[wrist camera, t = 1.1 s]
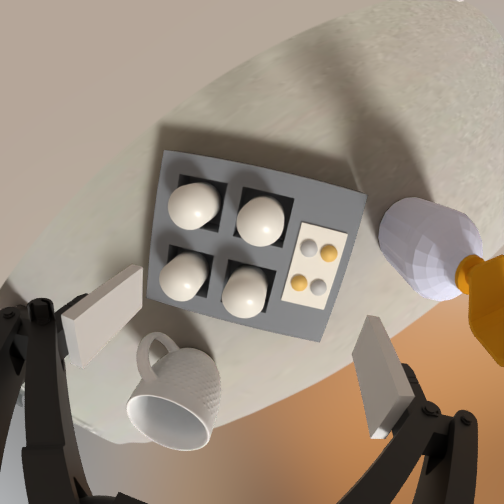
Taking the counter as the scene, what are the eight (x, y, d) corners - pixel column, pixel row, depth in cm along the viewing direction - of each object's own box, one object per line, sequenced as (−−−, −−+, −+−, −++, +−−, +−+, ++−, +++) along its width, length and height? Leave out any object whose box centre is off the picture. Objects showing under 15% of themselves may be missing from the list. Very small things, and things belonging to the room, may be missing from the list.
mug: (136, 323, 41) (91, 374, 29) (195, 303, 39) (158, 360, 27) (183, 394, 45) (157, 452, 32) (242, 383, 42) (226, 448, 30)
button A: (172, 279, 35) (157, 295, 31) (176, 246, 34) (161, 257, 30) (206, 289, 35) (195, 305, 31) (212, 255, 34) (200, 268, 29)
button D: (240, 230, 33) (232, 240, 28) (248, 191, 31) (241, 195, 27) (279, 239, 32) (277, 251, 28) (288, 200, 31) (288, 206, 27)
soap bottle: (433, 189, 31) (590, 240, 7) (443, 257, 33) (566, 361, 9) (370, 206, 32) (501, 290, 9) (384, 276, 35) (478, 419, 11)
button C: (227, 294, 35) (218, 312, 31) (233, 260, 34) (225, 274, 29) (263, 303, 35) (259, 322, 30) (271, 269, 33) (269, 285, 29)
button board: (158, 285, 39) (145, 299, 35) (177, 151, 33) (162, 149, 29) (317, 325, 38) (320, 344, 34) (359, 191, 32) (368, 195, 28)
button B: (180, 216, 33) (165, 224, 29) (186, 178, 32) (171, 181, 27) (217, 224, 33) (206, 234, 28) (224, 186, 31) (214, 189, 27)
